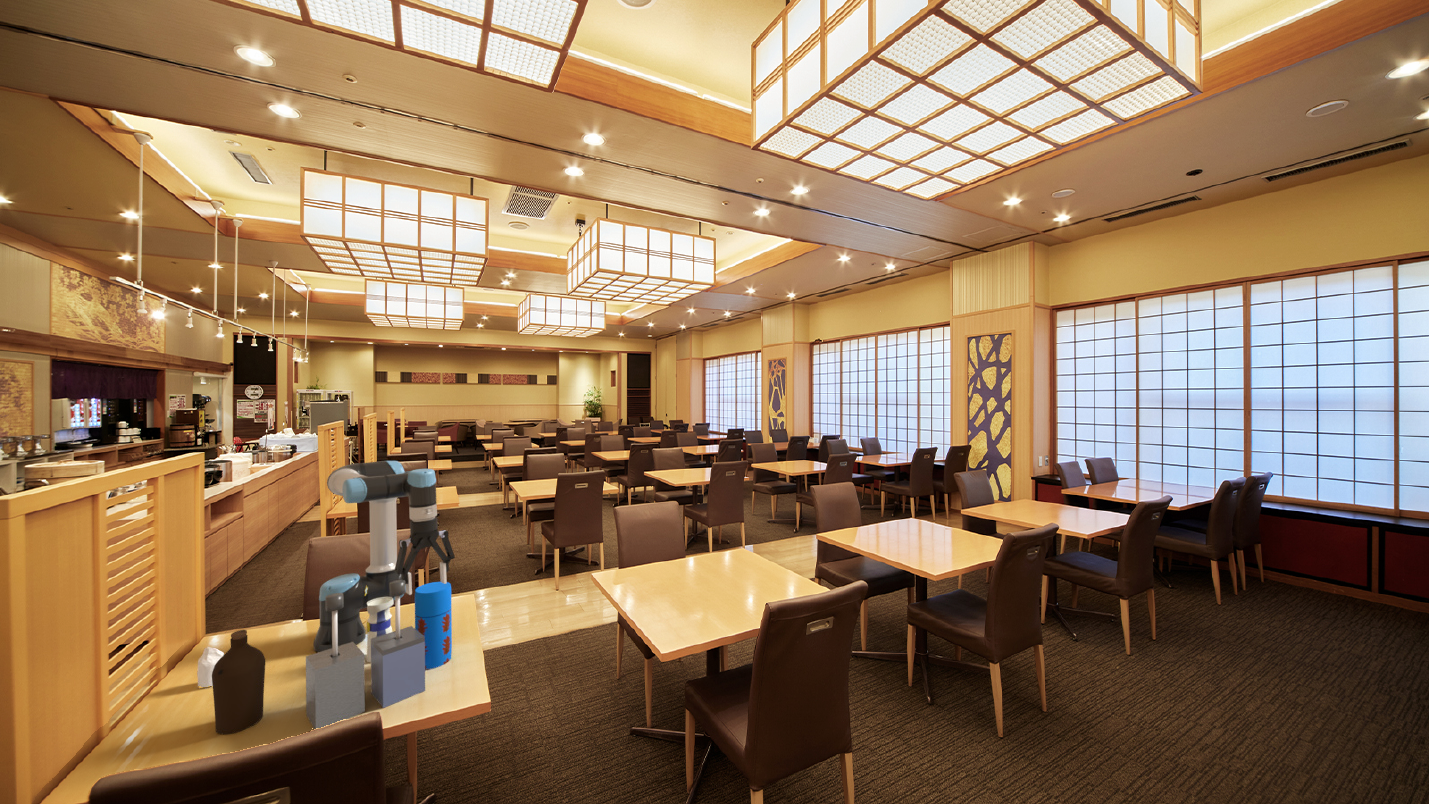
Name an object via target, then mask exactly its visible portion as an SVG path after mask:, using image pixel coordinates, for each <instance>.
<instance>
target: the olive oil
mask: <svg viewBox="0 0 1429 804" xmlns="http://www.w3.org/2000/svg"><path fill="white" fill-rule="evenodd" d="M247 633H248V630H246V629H239V630H236V631H234V632H232V633H231V634H230V637H231V638H230V647H229V649H228V650H227V651H226V652H225V653H224V655H223V656H222V657H221V658H220V659H219V660H218V662H217V663H216V664H215V666H214V669H213V672H212V685H213V687H212V692H213V693H212V694H213V706H214V722H215V723H214V724H215V725H214V726H215V732H216V733H217V734H218V735H230V734H234V733H235V734H236V733H238V732H241V731H245V730H247V729H249V728H251V727H252V726H254V725H256V724H257V723H259V722H260V721H261V719H262V718H263V717H264V699H265V697H264V696H265V695H264V694H265V693H264V692H265V678H266V677H265V675H266V657H265V655H264V653H263V652H262V650H260V649H258V648H256V647H254V646H253V645H251V644H249V643H248V634H247Z"/></svg>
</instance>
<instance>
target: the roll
mask: <svg viewBox="0 0 1429 804" xmlns="http://www.w3.org/2000/svg"><path fill="white" fill-rule="evenodd" d="M224 654H225V653H224V651H221V650H219V649H218V648H215V647H210V646H207V647H205V648H204V649H203V653H202V655H201V656H200V657H199V658H198V660H197V673H196V674H197V687H198V686H201V687H208V686H213V685H212V672H213V669H214V666H215V664H216V663H217V662H218V660H219V659H220V658H221V657H222V656H223V655H224Z"/></svg>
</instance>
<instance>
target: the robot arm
mask: <svg viewBox="0 0 1429 804" xmlns="http://www.w3.org/2000/svg"><path fill="white" fill-rule="evenodd" d="M326 480H327V481H326V486H327V488H328V490H329V491H330V492H331V493H332V494H333V495H335V496H336V495H337V496H341V497H342V498H343V500H344V502H345V503H346V504H360V503H365V502H369V561H370V562H369V564H370V565H369V566H367V567H366V568H365V575H362V576H361V575H359V574H358V573H345V574H342V575H337V576H335V577H333V578H331V579H329V580H327V581H326V582H323V584H322V585H321V586H320V588H319V597H318V600H319V626H318V630H317V632H316V635H315V638H314V640H313V651H314V652H315V653H316V652H317V653H318V652H322V651H325V650H328V649H331V648H332V611H331V612H328V611H326V596H328V595H331V594H335V593H343V608H342V609H340V610H337V628H338V646H341V645H344V644H347V643H350V642H354V643H355V645H356V646H357V645H359V643H362V642H363V641H364V640H365V639H366V631H367V630H366V627H365V625H364V623H363V622H362V619H361V616H360V614H361V613H360V612H361V610H362V609H367V606H368V605H367V602H368V601H370V600H373V599H376V598H381V597H391V596H390V585H389V584H390V582H392V581H396V580H405V594H407V595H409V596H411V595H412V594H413V589H412V588H413V586H412V585H413V583H412V572H410V570H411V567H412V565H413V563H415V562H414V561H415V560H416V557H417V555H418V554H419V553H420V551H421V550H424V549H426V548H431V547H432V549H433V550H434V551H435V553H436V554H437V556H438V557H439V558H440V559H441V561H440V562H439V575H440V576H439V577H440V579H439V580H440V582H442V583H444V584H446V583H447V582H448V581H447V573H448V572H449V571H450V562H451V560H454V559H455V556H456V555H455V553H454V550H453V547H452V545H451V544H452V543H451V541H450V539H449V530H445V529H442V530H439V529H438V526H439V525H438V517H437V516H438V508H437V507H438V506H437V505H438V504H437V478H436V473H435V470H434V469H432V468H418V469H413V470H410V471H408V470H407V471H405V468H404V467H403V464H402V463H401V462H400V461H398V460H381V461H379V460H378V461H370V462H369V461H368V462H362V463H361V462H360V463H351V464H347V465H343V466H341V467H339V468H336V469H335V470H333V471H332V472H331V473H330V474H329V476H328V477H327V479H326ZM405 497H408V505H409V509H408V510H409V520H410V521H409V530H410V533H409V534H410V536H409V538H406V539H400V540H399V541H398V538H397V536H398V535H397V534H398V533H397V530H398V529H397V526H398V525H397V499H398V498H405ZM438 538H441V541H442V544H443V547H444V550H445V552H446V553H445V552H444V551H443V549H442V548H441V547H440V545H439V543H438V541H437V540H438ZM397 541H398V542H397ZM410 544H412V546H411V548H410V551H409V553H408V556H407V551H408V547H409V545H410ZM398 545H399V550H398ZM405 559H406V560H405ZM366 586H367V587H368V589H367V594H366V595H365V589H366ZM405 594H403V595H401V596H400V599H401V598H402V597H403V596H404V595H405ZM392 598H393V601H394V602H395V597H392Z"/></svg>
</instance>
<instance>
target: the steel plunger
mask: <svg viewBox="0 0 1429 804" xmlns="http://www.w3.org/2000/svg"><path fill="white" fill-rule="evenodd" d="M342 608H343V593H335V594H331V595H328V596H326V611H328V612H331V611H332V658H333V657H336V656H338V628H337V610H340V609H342Z"/></svg>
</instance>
